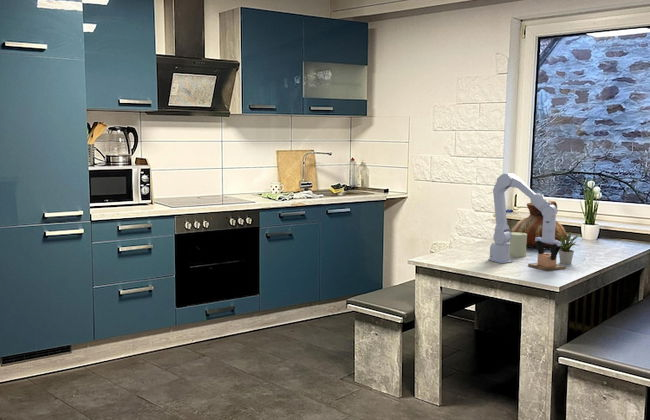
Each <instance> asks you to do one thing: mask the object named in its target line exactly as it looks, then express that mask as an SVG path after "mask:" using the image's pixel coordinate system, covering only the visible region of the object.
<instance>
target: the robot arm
mask: <svg viewBox="0 0 650 420" xmlns="http://www.w3.org/2000/svg"><path fill="white" fill-rule="evenodd" d="M509 188H516V189H518V190H519V191H520V192H522V193H523V194H524V195H525V196H527V197H528V198H529V199H530V203H532V204H533V205H534V206H535V207H536V208H537V209H539V210H540V211H541V212H542V215H543V229H542V238H541V237H535V241H537V242H536V243H535V245H536V247H537V248H536V249H537V252H538V254H544V253H545V249H544V248H545V245H546V243H548V244H552V245H550V248H549V249H550V254H551V260H555V259H556V256H557V255H559V250H561V249H562V248H561V242H560V241H557V240H555V223H556V221H557V220H556V218H557V216H556V215H557V214H558V212H559V211H558V206H557V207H556V206H555V205H553V204H551V202H548V201H549V200H547V199H546V198H545V197H544V195H543V194H540V193H535V192H534V191H533V190H532V189H531V187H529V186H528V185H527V183H525V182H524V181H523V180H522V179H521V178H520V176H517V175H516V174H515V173H514V172H508V173H502V174H500V175H499V176H498V177H497V178H496V182H495V184H494V186H493V189H492V193H493V204H494V206H493V207H494V215H495V228H494V234H493V236H492V237H493V238H492V239H493V241H494V242H492V243H491V245H490V246H489V258H488V259H487V260H488V261H491V262H495V263H499V264H506V263H513V262H514V260H510V256H509V251H510V242H509V241H510V240H511V238H512V234H511V231H510V230H511V229H510V226H509V225H508V218H507V207H506V197H505V192H506V191H507V190H508V189H509ZM553 216H554V217H553ZM555 220H556V221H555ZM549 242H550V243H549ZM538 254H537V255H538ZM557 257H558V256H557ZM556 260H557V259H556Z"/></svg>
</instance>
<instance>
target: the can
mask: <svg viewBox="0 0 650 420" xmlns="http://www.w3.org/2000/svg"><path fill="white" fill-rule="evenodd" d="M510 232H511V231H510ZM511 234H512V238H511V240H510V241H509V242H510V251H509V257H512V258H526V257H527V246H526V242H527V234H526V233H520V232H511Z"/></svg>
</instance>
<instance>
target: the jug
mask: <svg viewBox="0 0 650 420" xmlns="http://www.w3.org/2000/svg"><path fill="white" fill-rule="evenodd" d="M547 201H548V202H551V204H553V205H555V206H556V207H557V208H558V204H557V202H556V201H553V200H547ZM526 206H527V210H528V212H529V215H528V216H527V217H526V218H523V219H521V220H519V221H517V222H516V223H515V225H513V227H512V228H511V229H510V230H511V231H510V232H520V233H526V234H527V242H526V248H533V249H537V247H536V245H535V243H536V242H537V241H535V237H541V238H542V229H543V215H542V212H541V211H540V210H539V209H537V208H536V207H535V206H534V205H533V204H532V203H531V202H527V203H526ZM553 217H554V216H553ZM555 221H556V223H555V240H557V241H560V240H559V239H560V237H559V235H558V234H560V235H561V237H562V238H563V236H564V239H565V241H566V235H565V231H566V229H565V227H564V226H563V225H562V224H561V223H560V222H559V221H557V220H555ZM556 232H557V233H558V234H557V233H556ZM566 234H567V232H566ZM567 235H568V234H567ZM557 236H558V237H559V238H558V237H557ZM563 241H564V240H563ZM560 242H561V241H560ZM549 243H550V242H549ZM550 245H552V244H548V243H546V245H545V248H547V249H550Z"/></svg>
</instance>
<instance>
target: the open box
mask: <svg viewBox="0 0 650 420" xmlns="http://www.w3.org/2000/svg"><path fill="white" fill-rule="evenodd" d="M557 257H558V256H556V259H555V260H551V253H549V252H548V253H547V252H544V254H537V262H536V263H537V264H538V265H542V266H546V267H550V266H556V264H557Z"/></svg>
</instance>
